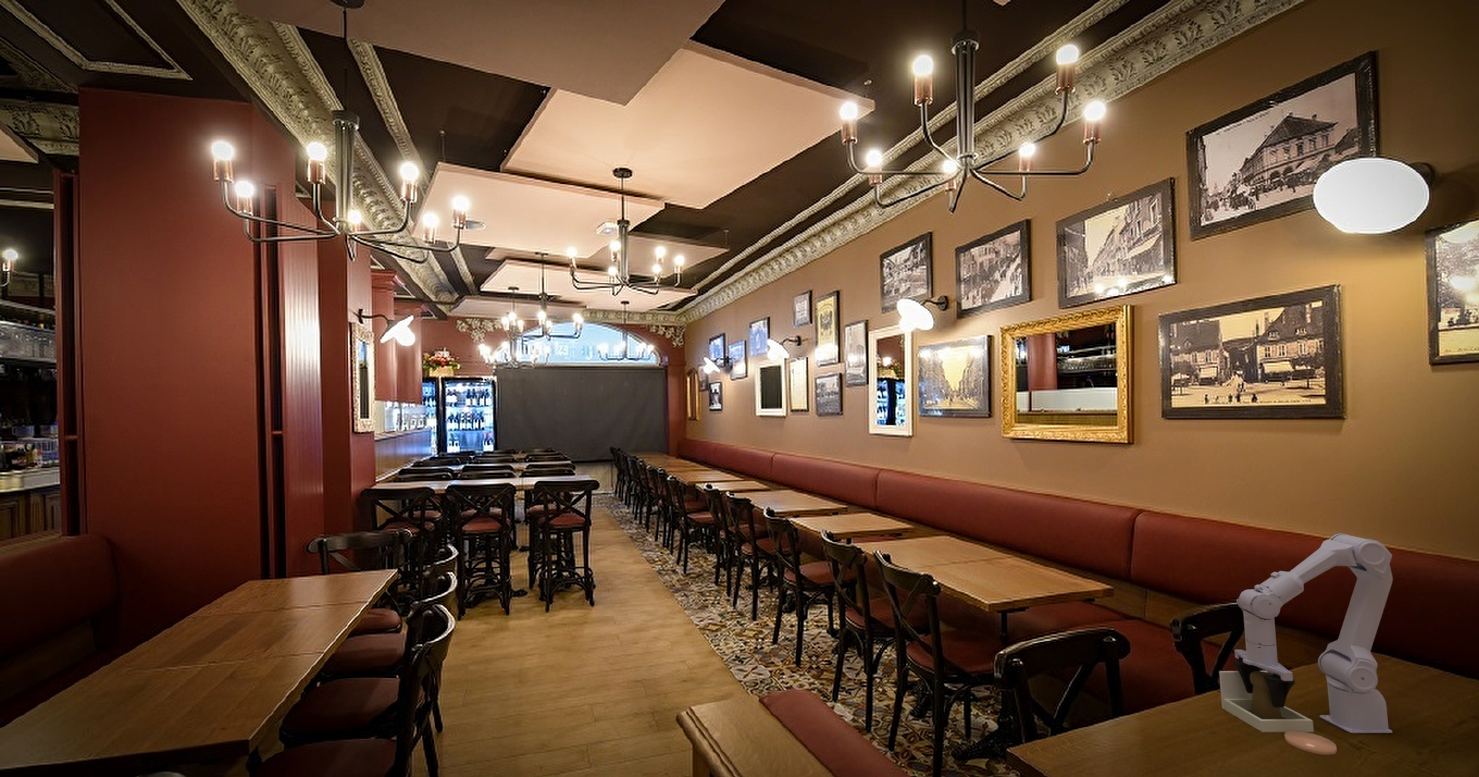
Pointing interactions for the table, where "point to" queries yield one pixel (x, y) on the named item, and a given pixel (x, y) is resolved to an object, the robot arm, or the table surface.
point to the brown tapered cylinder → (1262, 697)
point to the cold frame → (1241, 703)
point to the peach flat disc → (1310, 742)
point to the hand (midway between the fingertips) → (1264, 699)
